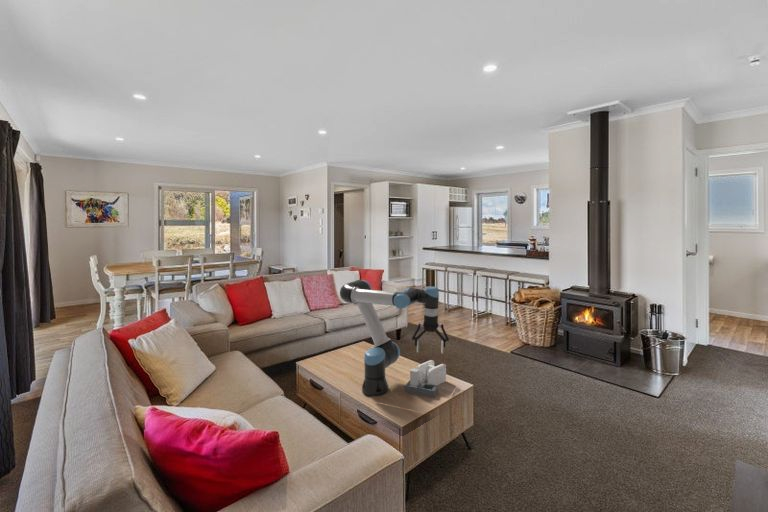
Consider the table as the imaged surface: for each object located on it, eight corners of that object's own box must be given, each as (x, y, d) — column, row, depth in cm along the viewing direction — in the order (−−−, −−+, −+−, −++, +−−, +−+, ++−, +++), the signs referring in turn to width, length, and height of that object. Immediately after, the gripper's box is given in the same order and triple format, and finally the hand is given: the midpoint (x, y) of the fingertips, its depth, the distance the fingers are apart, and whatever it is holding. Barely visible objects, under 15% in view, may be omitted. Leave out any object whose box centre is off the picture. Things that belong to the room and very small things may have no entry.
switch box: (405, 392, 207) (405, 385, 207) (409, 387, 214) (409, 380, 213) (434, 398, 200) (434, 390, 200) (438, 392, 207) (438, 385, 206)
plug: (410, 391, 208) (410, 370, 206) (413, 387, 212) (413, 367, 211) (417, 392, 206) (416, 371, 205) (419, 388, 210) (419, 368, 209)
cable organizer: (433, 376, 227) (433, 358, 226) (446, 382, 219) (447, 363, 218) (416, 384, 217) (416, 365, 216) (430, 390, 209) (430, 371, 208)
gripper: (408, 316, 198) (407, 353, 201) (454, 317, 197) (453, 355, 200) (408, 312, 206) (407, 348, 209) (453, 313, 205) (451, 350, 207)
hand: (429, 352), depth 204 cm, fingers open, 13 cm apart
